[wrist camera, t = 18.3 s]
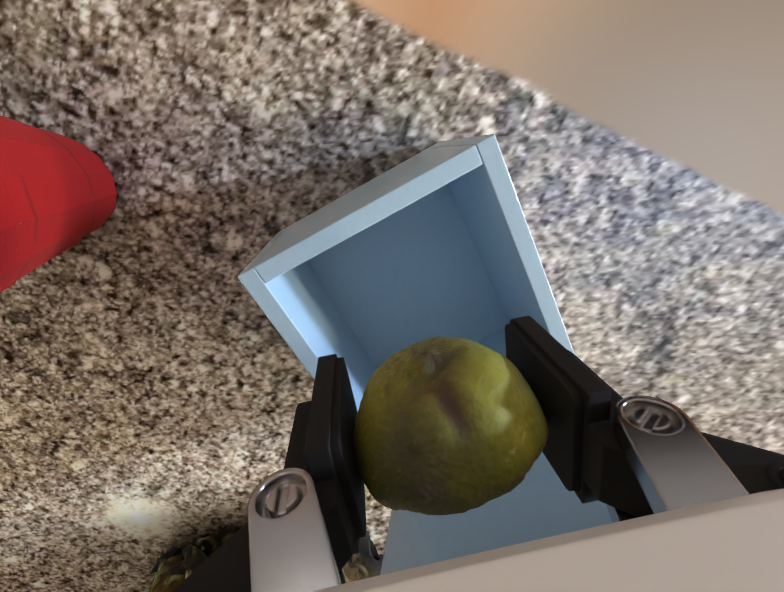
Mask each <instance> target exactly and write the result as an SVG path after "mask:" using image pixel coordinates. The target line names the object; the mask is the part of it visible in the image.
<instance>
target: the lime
mask: <svg viewBox="0 0 784 592" xmlns="http://www.w3.org/2000/svg"><path fill="white" fill-rule="evenodd" d="M547 438H548V425H547V422H546V418H545V416H544V413H543V411H542V408H541V406H540V404H539V401H538V400H537V397H536V396H535V394H534V393H533V391H532V389H531V387H530V386H529V384H528V383H527V381H526V380H525V378H524V377H523V375H522V374H521V373H520V371H519V370H518V369H517V367H516V366H515V365H514V364H513V363H512V362H511V361H510V360H508V359H507V358H506V357H505V356H503V355H501V354H500V353H498V352H496V351H494V350H492V349H490V348H488V347H486V346H484V345H482V344H479V343H477V342H475V341H472V340H469V339H465V338H462V337H459V338H457V337H443V336H441V337H439V336H437V337H432V338H429V339H424V340H422V341H420V342H416V343H414V344H412V345H409V346H408V347H407V348H405V349H403V350H401V351H399V352H397V353H395V354H393V355H391V356H390V357H389V358H388V359H387V360H386V361H385V362H384V363H383V364H381V366H380V367H378V368H377V369H376V371H375V372H374V373H373V375H372V376H371V377H370V379H369V381H368V383H367V386H366V389H365V391H364V393H363V397H362V400H361V402H360V406H359V410H358V413H357V417H356V421H355V428H354V432H353V448H354V453H355V459H356V463H357V467H358V470H359V473H360V475H361V477H362V479H363V481H364V483H365V484H366V486H367V488H368V490H369V492H370V493H371V494H372V496H373V497H374V498H375V500H377V501H378V502H379V503H381V504H382V505H384V506H385V507H389V508H391V509H393V510H400V509H401V510H404V511H405V510H408V511H410V512H415V513H421V514H426V515H439V516H440V515H450V514H458V513H464V512H467V511H468V510H470V509H474V508H478V507H480V506H481V505H484V504H485V503H487V502H489V501H490V500H493V499H496V498H498V497H501V496H502V495H504V494H506V493H509V492H511V491H512V490H513V489H514V488H515V487H517V486H518V484H520V483H521V482H522V481H523V480H524V478H525V475H526V473H527V472H529V471H530V469H531V467H532V466H533V463H534V462H535V460H537V459H538V457H539V456H540V455H541V452H542V451H543V448H544V447H545V445H546V441H547Z"/></svg>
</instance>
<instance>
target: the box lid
mask: <svg viewBox="0 0 784 592" xmlns="http://www.w3.org/2000/svg"><path fill="white" fill-rule="evenodd" d="M610 523H613V522H612V520H611V517H610V515H609V512H608V508H607V504H605V503H603V502H600V501H599V500H598V501H593V502H588V503H584V504H582V503H581V501H580V499H579V498H578V496H577V495H576V493H575V492H574V491H568V490H567V489H566V488H565V486H564V485H563V483H562V482H561V480H560V479H559V477H558V476H557V474H556V472H555V471H554V469H553V468H552V466H551V465H550V463H549V462H548V460H547V458H546V457H545V455H544V454H543V452H541V455H540V456H539V457H538V459H537V460H535V462H534V463H533V466H532V467H531V469H530V471H529V472H527V473H526V475H525V478H524V480H523V481H522V482H521V483H520V484H518V486H517V487H515V488H514V489H513V490H512V491H511V492H509V493H506V494H504V495H502V496H501V497H498V498H496V499H493V500H490V501H489V502H487V503H485V504H484V505H481V506H480V507H478V508H474V509H470V510H468V511H467V512H464V513H458V514H450V515H440V516H439V515H426V514H421V513H415V512H410V511H408V510H405V511H404V510H401V509H400V510H393V509H392V512H391V517H390V523H389V528H388V534H387V539H386V545H385V550H384V556H383V561H382V567H381V572H380V575H383V574H388V573H392V572H397V571H401V570H405V569H410V568H414V567H418V566H423V565H427V564H431V563H436V562H440V561H444V560H449V559H453V558H457V557H462V556H466V555H471V554H475V553H480V552H484V551H489V550H493V549H498V548H502V547H506V546H511V545H515V544H520V543H524V542H529V541H533V540H538V539H542V538H547V537H551V536H556V535H560V534H565V533H569V532H574V531H578V530H583V529H587V528H592V527H596V526H601V525H606V524H610Z"/></svg>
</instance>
